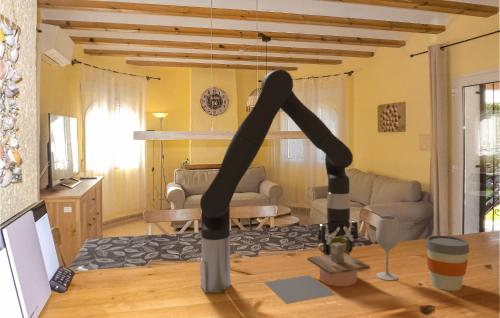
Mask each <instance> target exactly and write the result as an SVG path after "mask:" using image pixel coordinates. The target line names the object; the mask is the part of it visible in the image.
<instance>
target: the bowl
mask: <svg viewBox="0 0 500 318" xmlns="http://www.w3.org/2000/svg"><path fill="white" fill-rule="evenodd" d="M319 280H320V282H322V283H324V284H326V285H330V286H334V287H347V286H353V285H354V284H356V283H357V282H358V270H356V271H350V272H344V273H338V274H332V275H330V274H329V273H327V272H326V271H324V270H323V269H321V268H319Z"/></svg>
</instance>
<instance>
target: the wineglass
mask: <svg viewBox="0 0 500 318" xmlns="http://www.w3.org/2000/svg"><path fill="white" fill-rule="evenodd" d="M375 238H376V241H377V244H378V245H379V246H380V247H381V249H384V251H385V254H386V255H385V271H380V272H376V274H375V277H376V278H377V277H378V278H377V279H380V280H383V281H386V282H387V281H389V282H390V281H396V280H398V279H399V277H398V275H397V274H395V273H392V272H389V253H390V251H391V250H393V249H394V248H395V247H396V246H397V245H398V243H399V242H400V227H399V223H398V217H396V216H393V215H380V216H378V218H377V224H376V229H375Z"/></svg>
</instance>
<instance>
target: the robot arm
mask: <svg viewBox="0 0 500 318" xmlns="http://www.w3.org/2000/svg"><path fill="white" fill-rule="evenodd" d="M260 84H261V86H260V87H261V91H260V93H259V96H258V97H257V100H256V102H255V104H254V106H253V107H252V109H251V110H250V111H249V113H248V114H247V115H246V116H245V118H244V119H243V121H242V122H241V124H239V127H237V130H236V132H235V133H234V135H233V136H232V138H231V140H230V143H229V145H228V146H227V149H226V151H225V153H224V155H223V156H224V157H223V159H222V161H221V164H220V167H219V169H218V172H217V174H216V175H215V177H214V178H213V180H212V181H211V183H210V185H209V186H208V188H206V189H205V190H204V191H203V193H202V194H201V198H200V200H199V207H200V209H201V226H200V227H201V228H200V231H201V233H200V234H201V236H200V237H201V257H200V259H199V260H200V262H199V263H200V287H201V289H202V291H203V292H204V294H205V293H211V294H212V293H214V294H218V293H224V292H226V290H228V289H230V287H231V235H230V233H231V217H230V212H231V211H230V207H231V206H230V204H231V202H232V199H233V197H234V194H235V192H236V190H237V187H238V186H239V184H240V181H241V180H242V179H243V177H244V175H245V174H246V173H247V171H248V170H249V168H250V166H251V165H252V163H253V162H254V160H255V158H256V157H257V155H258V153H259V151H260V149H261V147H262V145H263V143H264V141H265V139H266V138H267V135H268V133H269V130H270V129H271V126H272V124H273V121H274V120H275V117H276V116H277V114H278V112H279V111H280V109H281V110H282V111H283V112H284V113H285V115H287V116H288V117H289V118H290V119H291V120H292V121H293V122H294V123H295V125H296V126H297V127H298V128H299V130H300V131H301V132H302V133H303V134H304V136H305V137H306V138H307V139H308V140H309V141H310V142H311V144H312V145H314V147H316V149H318V150H320V151H321V152H323V153H324V154H325V156H324V157H325V159H324V161H325V162H324V164H325V169H326V175H327V176H326V177H327V197H326V219H327V222H326V224H322V223H319V224H318V230H317V231H318V234H317V242H319V243H323V248H322V250H323V252H324V253H325V254H326V255H330V244H329V243H330V242H331V240H332V239H334V238H338V237H343V236H344V238H346V239H347V240H346V251H347V252H350V253H352V251H353V243H354V242H353V241H354V240H358V239H359V230H358V229H359V227H358V224H359V223H358V222H357V221H354V220H351V196H350V178H349V176H348V174H346V169H347V168H348V167H350V166H351V165H352V163H353V161H354V156H353V153H352V151H351V149H350V148H349V147H348V146H347V144H345V143H344V142H343V141H342V140H341V139H340V138H338V137H337V136H336V135H335V134H333V132H332V131H331V129H330V128H329V127H328V126H327V125H326V124H325V123H324V122H323V120H322V119H321V118H320V117H319V116H318V115H317V114H315V113H314V112H313V111H311V110H310V108H308V106H306V105H305V104H304V103H303V102H302V101H301V100H300V99H299V98H298V97H297V95H296V94H295V93H294V91H293V88H294V80H293V77H292V75H291V74H290V72H288V71H287V70H284V69H275V70H272V71H270V72H269V73H267V74H265V76H264V77H263V79H262V81H261V83H260ZM349 228H350V231H349Z"/></svg>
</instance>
